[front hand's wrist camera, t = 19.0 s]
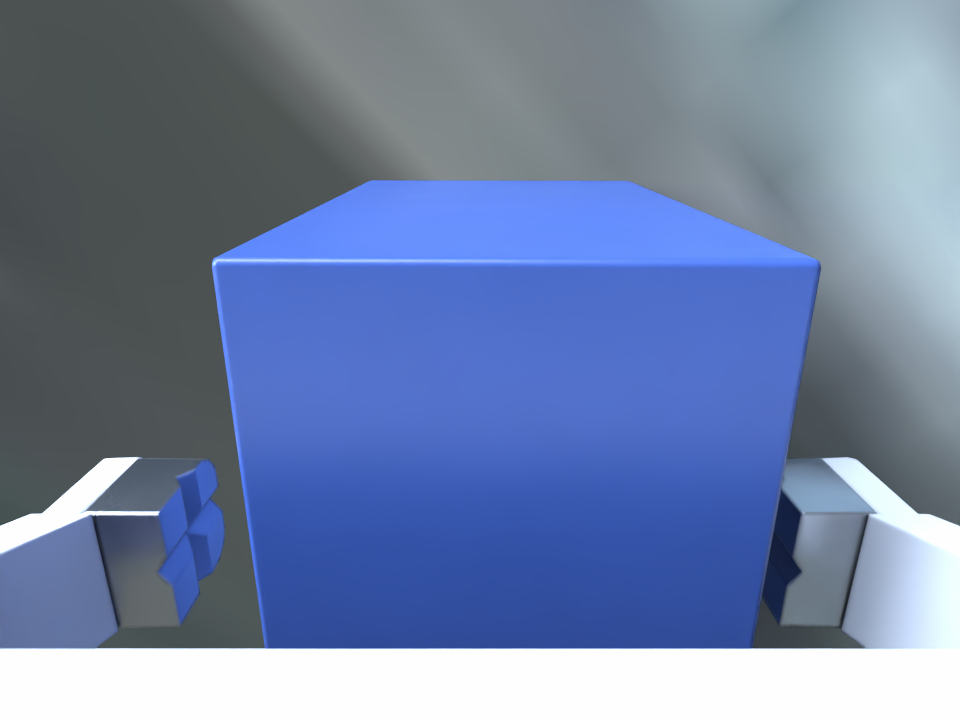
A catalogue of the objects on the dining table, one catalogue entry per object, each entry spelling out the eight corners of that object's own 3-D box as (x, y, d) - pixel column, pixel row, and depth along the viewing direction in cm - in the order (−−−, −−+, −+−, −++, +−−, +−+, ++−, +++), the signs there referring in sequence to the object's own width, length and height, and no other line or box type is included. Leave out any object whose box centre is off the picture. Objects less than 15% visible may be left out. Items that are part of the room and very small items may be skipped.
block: (386, 528, 16) (296, 891, 9) (368, 180, 13) (207, 257, 6) (605, 529, 16) (710, 896, 9) (631, 181, 13) (826, 259, 6)
